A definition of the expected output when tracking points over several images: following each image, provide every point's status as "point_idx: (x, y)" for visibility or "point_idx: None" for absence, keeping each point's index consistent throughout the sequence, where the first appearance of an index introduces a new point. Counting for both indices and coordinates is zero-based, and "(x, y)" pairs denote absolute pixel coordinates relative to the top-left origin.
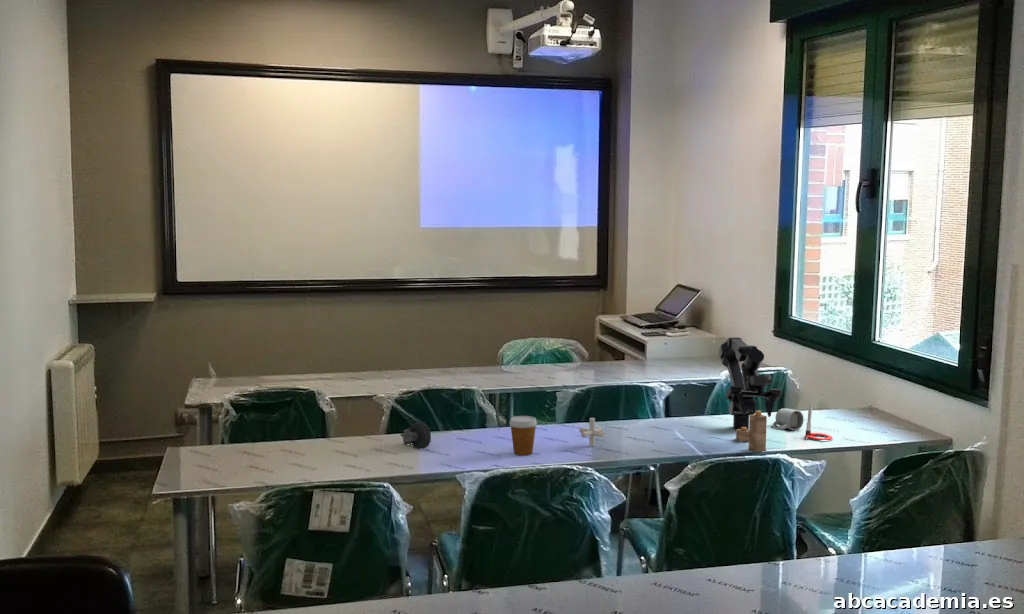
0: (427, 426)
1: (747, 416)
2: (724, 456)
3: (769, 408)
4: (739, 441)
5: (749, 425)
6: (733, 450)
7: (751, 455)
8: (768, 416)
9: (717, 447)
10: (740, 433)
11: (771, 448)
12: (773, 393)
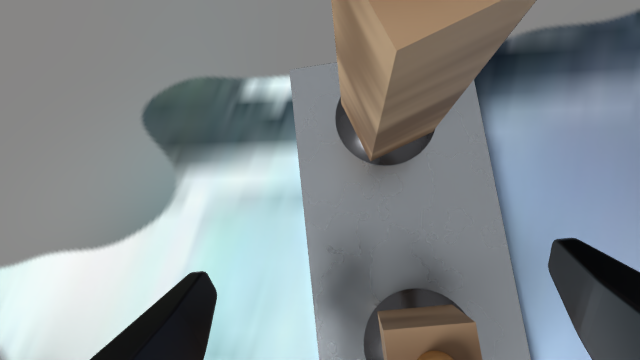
0: None
1: None
2: (588, 28)
3: (139, 351)
4: (455, 306)
5: (489, 54)
6: (516, 147)
7: None
8: (214, 301)
9: (611, 210)
10: (470, 318)
11: (285, 193)
12: None
